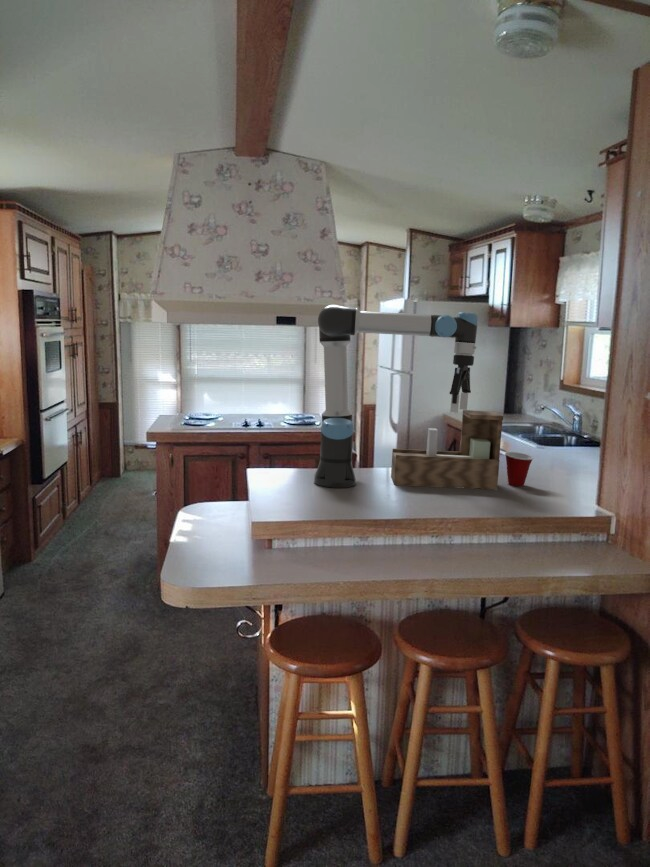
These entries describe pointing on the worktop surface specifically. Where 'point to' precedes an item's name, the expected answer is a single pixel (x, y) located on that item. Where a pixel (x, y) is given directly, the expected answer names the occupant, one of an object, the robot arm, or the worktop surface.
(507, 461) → the plastic cup
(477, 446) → the tethered block
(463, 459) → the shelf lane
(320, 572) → the worktop surface
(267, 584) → the worktop surface
